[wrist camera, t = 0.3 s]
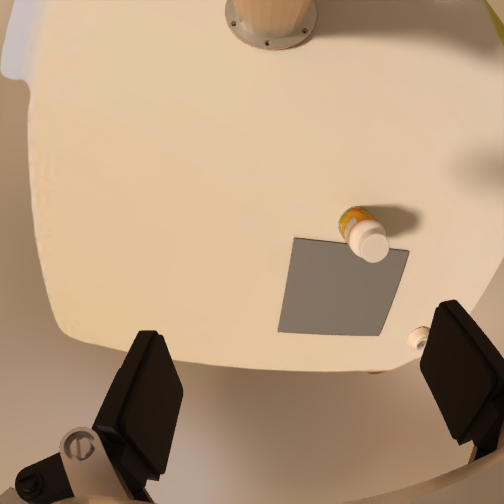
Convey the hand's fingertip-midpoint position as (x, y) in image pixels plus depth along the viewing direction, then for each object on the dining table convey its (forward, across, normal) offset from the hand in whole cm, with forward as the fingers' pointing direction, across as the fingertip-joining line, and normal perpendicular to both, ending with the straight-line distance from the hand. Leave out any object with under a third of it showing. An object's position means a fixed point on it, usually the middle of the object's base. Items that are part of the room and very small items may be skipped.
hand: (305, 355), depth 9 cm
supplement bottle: (+36, -12, +8) cm, 38 cm away
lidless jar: (+36, -28, +34) cm, 57 cm away
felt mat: (+35, -11, +21) cm, 42 cm away
